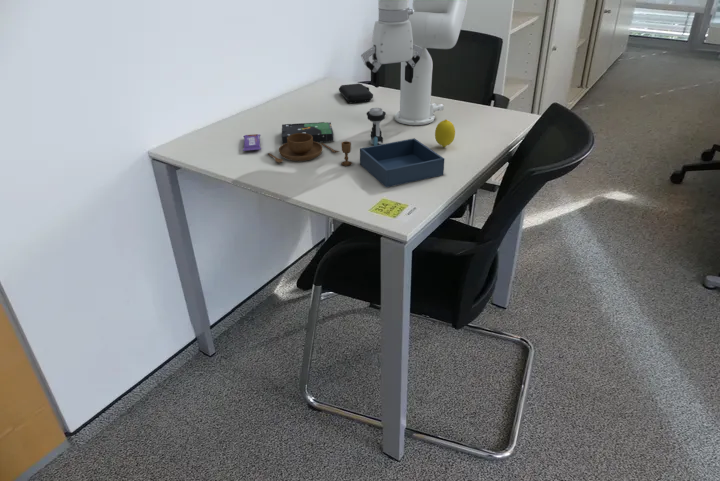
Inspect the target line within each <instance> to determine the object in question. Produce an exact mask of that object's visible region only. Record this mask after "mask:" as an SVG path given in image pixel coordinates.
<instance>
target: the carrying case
mask: <svg viewBox="0 0 720 481" xmlns="http://www.w3.org/2000/svg"><path fill="white" fill-rule="evenodd" d="M338 92H339V93H340V94H341V96H343V98H344V99H345V100H346V101H347V102H348V103H351V104H354V103H364V102H370V101H372V100H373V98H374V93H372V92H371V91H370V88H369V87H368V86H365V85H363V84H362V83H351V84H341V85H340V86H339V88H338Z"/></svg>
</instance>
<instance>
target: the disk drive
mask: <svg viewBox="0 0 720 481" xmlns="http://www.w3.org/2000/svg"><path fill="white" fill-rule="evenodd" d="M296 133H307V134H310V135H312V137H313V141H314V142H317V143H319V144H321V143H329V142H330V143H331V142H334V130H333V126H332V121H331V122H329V121H328V122H327V121H326V122H324V121H321V122H320V121H319V122H300V123H282V124H281V143H282V144H281V145H283V144H285V143H287V137H288V136H290V135H292V134H296Z"/></svg>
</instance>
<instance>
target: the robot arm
mask: <svg viewBox="0 0 720 481" xmlns="http://www.w3.org/2000/svg"><path fill="white" fill-rule="evenodd" d="M377 1H378V5H377V6H378V7H377V8H378V11H377V13H378V14H377V17H378V18H377V20H376V21H374V26H373V30H372V40H371V47H370V48H369V49H367V50H366V51H364V52H363V53H361V55H360V57H361V61H363V64H364V65H365V66H366V68H368V70H369V71H370V83H371V85H372V86H373V87H374V88H379V87H380V72H379V69H380V68H381V66H382V65H387V64H396V63H400V85H399V86H400V87H399V88H400V89H399V96H400V97H399V111H397V112H395V114H394V120H395V121H396V122H397V123H400V124H402V125H408V126H423V125H428V124H430V123H432V122H434V121H435V118H436V116H435V114H434V113H435V112H439V111H440V112H441V111H443V110H444V108H445V107H444V106H445V105H444V104H443V103H440V104H439V103H438V104H436V102H433V103H431V102H432V101H431V100H432V82H433V64H434V63H433V59H432V55H431V54H430V52H429V51H428V49H436V50H450V49H453V48H454V47H455V46H456V45H457V42H458V40H459V36H460V33H461V31H462V26H463V23H464V19H465V15H466V11H467V7H468V0H412V8H410V7H409V6H410V4H409V2H410V0H377ZM370 57H371V60H373V61H370Z"/></svg>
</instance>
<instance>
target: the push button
mask: <svg viewBox="0 0 720 481" xmlns="http://www.w3.org/2000/svg"><path fill="white" fill-rule="evenodd" d="M386 116H387V112H386V111H384V109H383V108H381V107H371V108H370V109H369V111H367V112H366V117H367V120H368V121H370V122H371V123H372V127H371V130H370V134H369V135H370V144H371V145H373V146H376V145H381V144H384V137H383V136H382V133H383V132H382V130H381V122H383V121H384V120H385V119H386Z"/></svg>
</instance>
